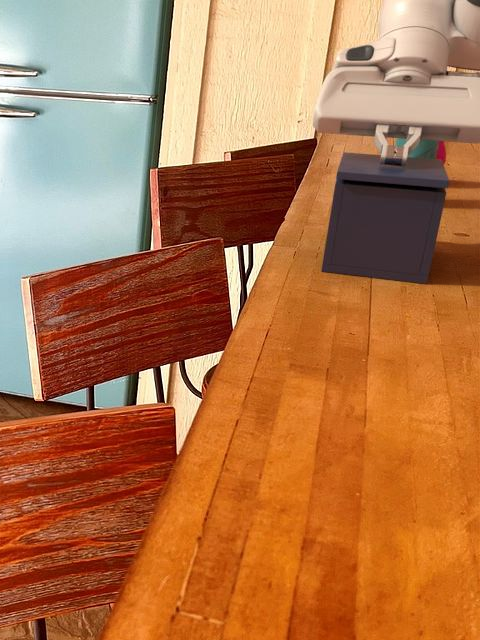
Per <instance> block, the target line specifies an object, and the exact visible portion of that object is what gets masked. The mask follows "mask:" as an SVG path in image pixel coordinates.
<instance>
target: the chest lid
mask: <svg viewBox="0 0 480 640" xmlns="http://www.w3.org/2000/svg"><path fill="white" fill-rule="evenodd" d="M380 160H381V154H371V153H360V152H359V153H358V152H357V153H356V152H355V153H354V152H345V151H344V152H343V153H342V155H341V159H340V162H339V165H338V168H337V171H336V176H335V179H341V180H353V181H365V182H377V183H388V184H400V185H412V186H424V187H436V188H445V189H449V186H450V178H449V176H448V173H447V171H446V168H445V164H444V165H443V162H442V160H440V159H427V158H413V157H407V161H406V166H395V165H382V164H380Z"/></svg>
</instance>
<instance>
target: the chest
mask: <svg viewBox="0 0 480 640" xmlns="http://www.w3.org/2000/svg"><path fill="white" fill-rule="evenodd" d="M335 179H336V178H335ZM446 189H447V188H436V187H424V186H412V185H400V184H388V183H377V182H365V181H353V180H341V179H336V180H335V184H334V188H333V195H332V201H331V207H330V214H329V220H328V226H327V232H326V239H325V245H324V250H323V251H324V252H323V258H322V263H321V269H320V270H321V271H320V272H323V273H329V274H330V273H331V274H338V275H348V276H356V277H363V278H373V279H381V280H390V281H397V282H406V283H414V284H423V285H427V284H428V281H429V275H430V272H431V267H432V262H433V258H434V253H435V249H436V244H437V239H438V234H439V230H440V225H441V222H442V221H441V220H442V217H443V211H444V206H445V202H446V197H447V190H446Z"/></svg>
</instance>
